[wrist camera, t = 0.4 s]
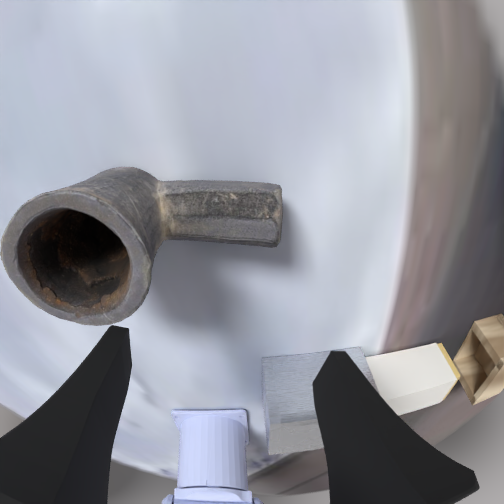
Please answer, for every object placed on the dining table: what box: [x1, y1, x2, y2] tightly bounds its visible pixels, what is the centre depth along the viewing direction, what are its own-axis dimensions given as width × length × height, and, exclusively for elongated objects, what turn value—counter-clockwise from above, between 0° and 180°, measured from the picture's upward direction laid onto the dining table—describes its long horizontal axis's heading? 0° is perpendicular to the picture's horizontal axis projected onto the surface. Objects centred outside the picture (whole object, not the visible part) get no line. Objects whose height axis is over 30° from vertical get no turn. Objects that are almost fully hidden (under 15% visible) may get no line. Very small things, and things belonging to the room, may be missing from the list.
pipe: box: [0, 167, 283, 326], centre depth 14 cm, size 6×13×8 cm, turn 88°
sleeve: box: [262, 347, 379, 455], centre depth 24 cm, size 7×9×6 cm
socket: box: [452, 314, 504, 405], centre depth 25 cm, size 7×5×6 cm
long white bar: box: [365, 343, 460, 415], centre depth 25 cm, size 4×17×5 cm, turn 92°
